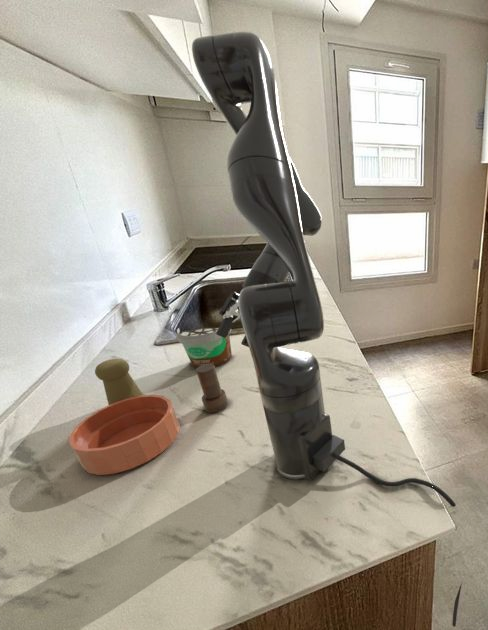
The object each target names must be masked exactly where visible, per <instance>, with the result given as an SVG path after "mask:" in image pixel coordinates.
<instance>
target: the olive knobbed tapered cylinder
mask: <svg viewBox="0 0 488 630" xmlns="http://www.w3.org/2000/svg"><path fill="white" fill-rule="evenodd" d="M129 372H130V364H129V362H128V361H127V360H126V359H124V358H119V357H118V358H117V357H116V358H110V359H107V360H104V361H102V362H100V363H99V364H98V365H96V366H95V370H94V374H95V376H96V377H97V379H99V380H101V381H102V384H103V387H104V392H105V396H106V400H107V404H108V405H111V404H113V403H116V402H119V401H121V400H124V399H127V398H132V397H137V396H141V395H144V394H143V392H142V390H141V389H140V388H139V386H138V385H137V384H136V382H135V380H134V379H133V377H132V376H131V374H130V373H129Z"/></svg>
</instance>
